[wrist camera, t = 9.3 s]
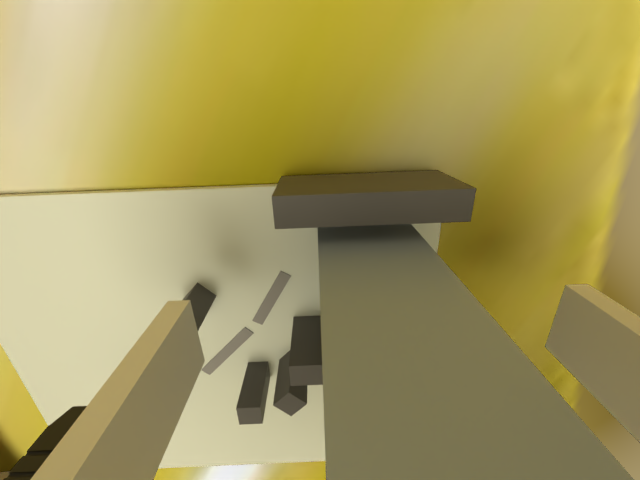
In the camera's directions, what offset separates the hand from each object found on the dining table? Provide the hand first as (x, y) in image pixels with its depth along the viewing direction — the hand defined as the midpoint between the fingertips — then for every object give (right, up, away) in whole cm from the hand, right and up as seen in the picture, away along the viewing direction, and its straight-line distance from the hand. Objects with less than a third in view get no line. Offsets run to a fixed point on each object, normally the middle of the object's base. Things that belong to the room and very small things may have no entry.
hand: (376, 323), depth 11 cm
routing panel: (-8, -4, +7) cm, 11 cm away
